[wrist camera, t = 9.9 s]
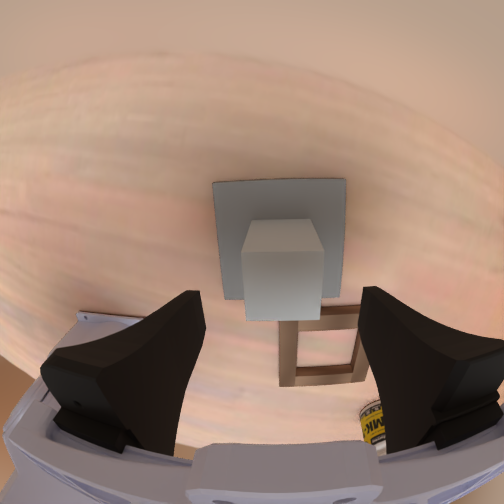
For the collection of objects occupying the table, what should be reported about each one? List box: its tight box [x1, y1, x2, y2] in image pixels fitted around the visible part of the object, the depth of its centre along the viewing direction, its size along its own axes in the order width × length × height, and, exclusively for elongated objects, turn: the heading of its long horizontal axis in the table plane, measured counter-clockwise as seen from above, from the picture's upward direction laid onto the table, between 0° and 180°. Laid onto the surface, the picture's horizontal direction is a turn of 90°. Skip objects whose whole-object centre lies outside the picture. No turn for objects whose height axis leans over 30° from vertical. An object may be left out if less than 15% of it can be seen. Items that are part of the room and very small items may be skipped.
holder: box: [279, 305, 370, 387], centre depth 22 cm, size 8×8×1 cm
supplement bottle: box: [360, 401, 386, 456], centre depth 23 cm, size 5×5×8 cm
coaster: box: [212, 178, 346, 300], centre depth 19 cm, size 9×9×1 cm
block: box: [241, 219, 324, 321], centre depth 16 cm, size 4×4×6 cm
